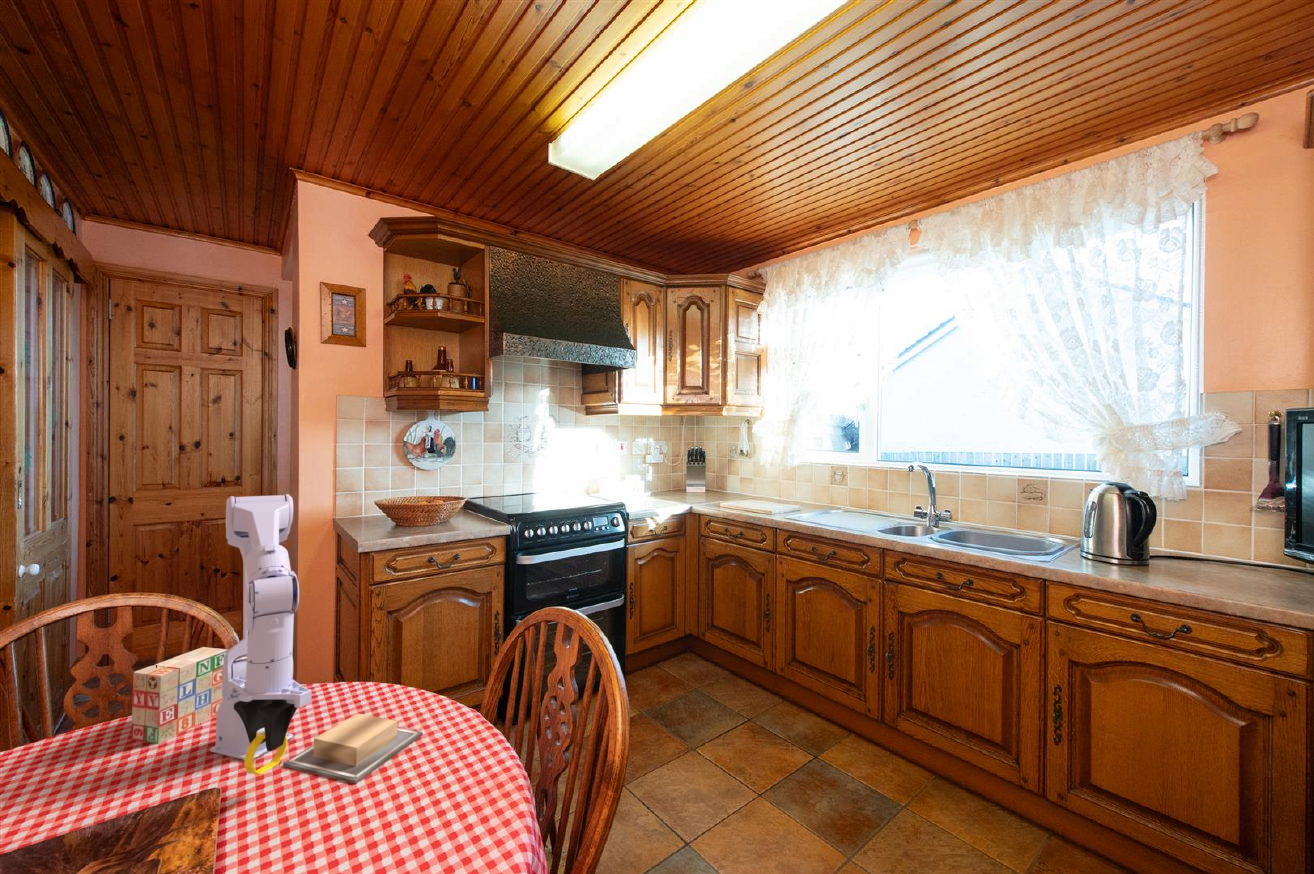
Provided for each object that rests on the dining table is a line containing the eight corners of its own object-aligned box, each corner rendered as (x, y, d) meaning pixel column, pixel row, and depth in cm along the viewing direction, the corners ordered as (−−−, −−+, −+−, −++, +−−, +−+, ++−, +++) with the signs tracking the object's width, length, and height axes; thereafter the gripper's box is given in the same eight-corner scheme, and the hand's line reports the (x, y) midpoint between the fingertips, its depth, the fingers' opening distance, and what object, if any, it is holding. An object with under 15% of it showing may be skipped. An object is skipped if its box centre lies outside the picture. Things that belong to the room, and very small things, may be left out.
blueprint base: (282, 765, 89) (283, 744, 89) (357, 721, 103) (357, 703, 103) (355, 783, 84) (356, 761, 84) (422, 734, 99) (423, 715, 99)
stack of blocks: (244, 687, 116) (246, 630, 116) (268, 691, 115) (270, 633, 115) (129, 740, 95) (132, 670, 95) (157, 745, 94) (160, 674, 94)
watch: (275, 759, 85) (279, 720, 85) (290, 761, 84) (293, 722, 85) (238, 779, 79) (242, 736, 79) (253, 781, 78) (257, 738, 79)
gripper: (207, 659, 80) (204, 751, 80) (281, 673, 76) (278, 769, 76) (254, 643, 87) (251, 727, 87) (324, 655, 83) (321, 743, 83)
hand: (267, 745), depth 82 cm, fingers closed on watch, 3 cm apart
